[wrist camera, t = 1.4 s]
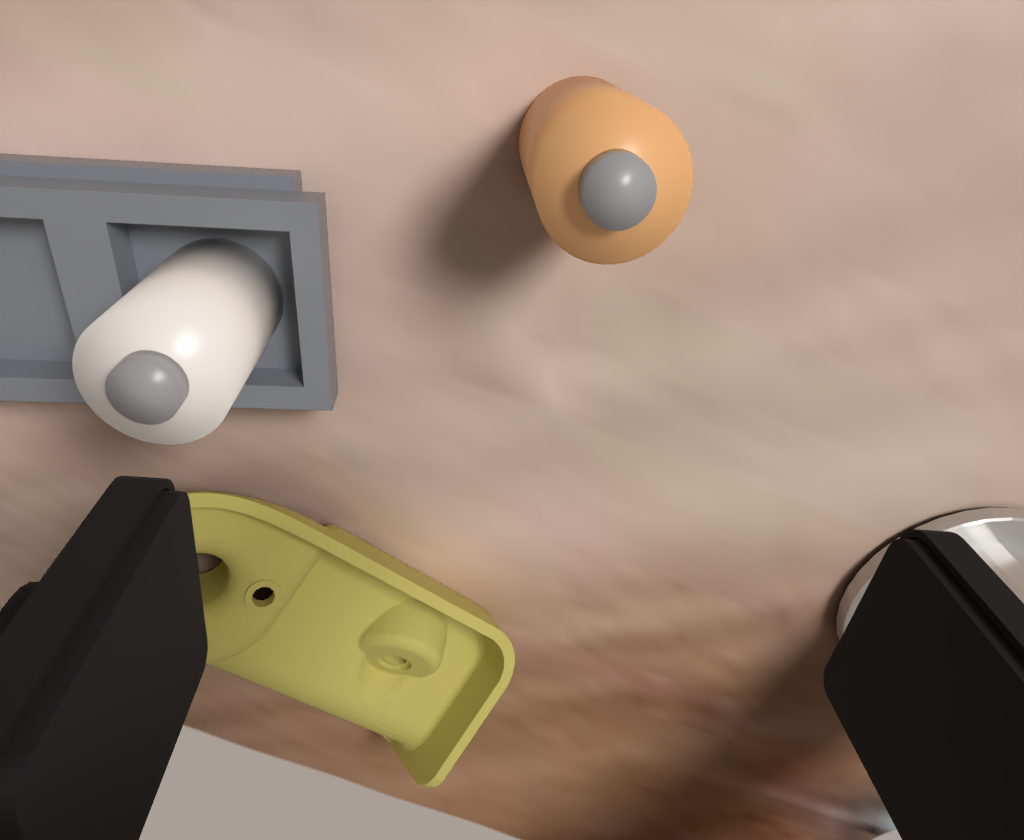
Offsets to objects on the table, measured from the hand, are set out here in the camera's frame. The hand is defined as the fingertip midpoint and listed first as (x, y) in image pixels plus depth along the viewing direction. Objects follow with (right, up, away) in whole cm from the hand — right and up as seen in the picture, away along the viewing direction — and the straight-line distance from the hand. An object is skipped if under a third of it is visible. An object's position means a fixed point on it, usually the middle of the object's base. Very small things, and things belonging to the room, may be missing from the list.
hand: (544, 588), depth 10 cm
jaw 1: (+2, +12, +16) cm, 20 cm away
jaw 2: (-11, +7, +17) cm, 22 cm away
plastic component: (-10, -6, +26) cm, 29 cm away
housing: (-15, +8, +18) cm, 24 cm away
